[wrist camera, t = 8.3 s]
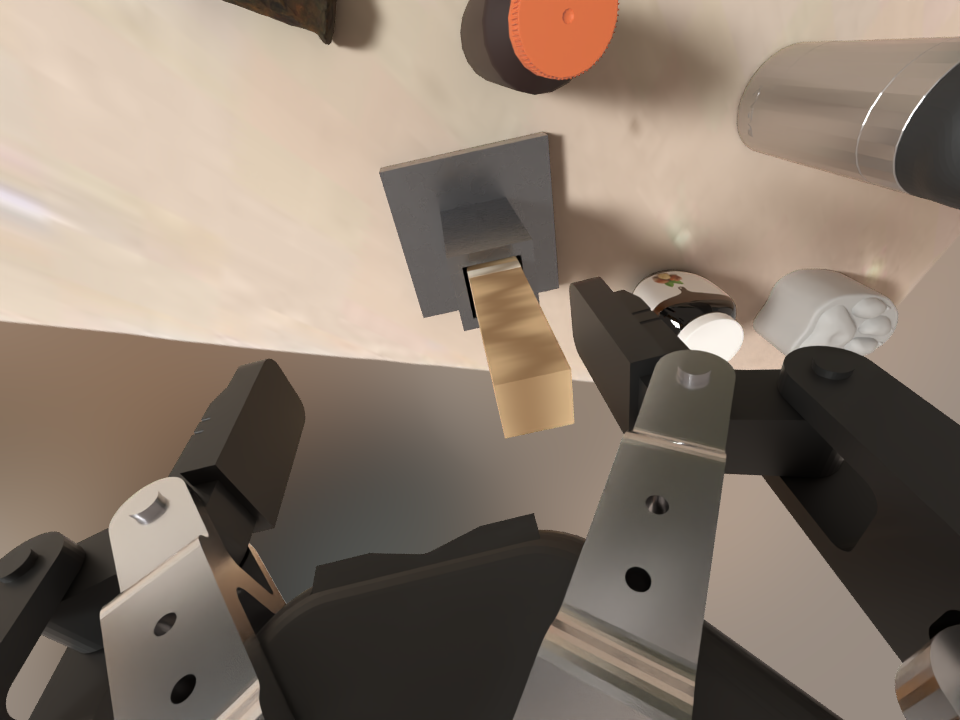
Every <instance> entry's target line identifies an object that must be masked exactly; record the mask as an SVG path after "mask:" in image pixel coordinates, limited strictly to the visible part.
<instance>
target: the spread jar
mask: <svg viewBox="0 0 960 720" xmlns="http://www.w3.org/2000/svg"><path fill="white" fill-rule="evenodd" d="M632 294H634V295H636V296H639V297H640V298H641V299H642V300H643V301H644V302H645V303H646V304H647V305H648V306H649V307H650V308H651V311H652V310H653V311H654V312H655V313H656V314H657V315H658V316H659V319H660V320H662V321H663V322H664V323H665V324H666V325H667V326H668V327H669V328H670V329H671V330H672V331H673V332H674V333H675V334H676V335H677V336H678V337H679V338H680V339H681V340H682V341H683V343H684V344H685V345H686V346H687V347H688V348H689V349H690V350H700V351H705V352H709V353H712V354H715V355H717V356H719V357H721V358H723V359H724V360H726V361H727V362H728V361H729V360H731V359H732V358H733V357H734V355H735V354H736V353H737V352H738V350H739V349H740V347H741V345H742V342H743V339H744V332H743V328H742V326H741V325H740V324H739V323H738V322H737V321H735V320H736V305H735V303H734V301H733V300H732V298H731V297H730V296H729V295H728V294H726V293H725V292H724V291H723V290H721V289H720V288H719V287H718V286H716V285H715V284H713V283H712V282H710V281H709V280H707V279H705V278H704V277H701V276H699V275H696V274H693V273H689V272H684V271H678V270H664V271H659V272H656V273H653V274H651V275H649V276H647V277H645V278H644V279H643V280H641V281H640V282H639V283H638V285H637V286H636V288H635V289H634V291H633V293H632Z"/></svg>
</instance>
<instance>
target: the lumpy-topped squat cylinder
mask: <svg viewBox="0 0 960 720" xmlns="http://www.w3.org/2000/svg"><path fill="white" fill-rule="evenodd" d="M897 322H898V311H897V309H896V307H895V305H894V304H893V302H892V301H891V300H890V299H889V298H888V297H886V296H884V295H882V294H880V293H879V292H877V291H875V290H873V289H871V288H869V287H867V286H865V285H863V284H861V283H859V282H857V281H855V280H853V279H851V278H849V277H847V276H845V275H843V274H841V273H839V272H836V271H832V270H825V269H801V270H796V271H793V272H791V273H789V274H787V275H785V276H784V277H782V278H781V279H780V280H779V281H778V282H777V283H776V284H775V285H774V287H773V289H772V290H771V293H770V295H769V297H768V300H767V301H766V303H765V305H764V306H763V307H762V309H761V310H760V311H759V313H758V314H757V316H756V317H755V319H754V322H753V328H754V330H755V331H756V332H757V333H758V334H759V335H761V336H762V337H763V338H764V339H765V340H767V341H768V342H769V343H770V344H772V345H773V346H774V347H775V348H777V349H778V350H779V351H780V352H781V353H783V354H784V355H785V356H787V355H788V354H789V353H790V352H792V351H793V350H796V349H798V348H802V347H807V346H830V347H837V348H842V349H845V350H849V351H852V352H855V353H857V354H860V355H862V356H864V355H867V354H870V353H872V352H874V351H875V349H876V348H878V347H879V346H881V345H882V344H883V343H885V342H886V341H887V340H888V339H889V338H890V336H891V335H892V334H893V332H894V330H895V328H896V325H897Z"/></svg>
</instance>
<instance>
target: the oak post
mask: <svg viewBox="0 0 960 720" xmlns="http://www.w3.org/2000/svg"><path fill="white" fill-rule="evenodd" d="M466 269H467V274H468V278H469V283H470V287H471V292H472V296H473V301H474V305H475V310H476V315H477V319H478V323H479V327H480V331H481V335H482V340H483V344H484V348H485V353H486V357H487V362H488V366H489V370H490V375H491V379H492V383H493V388H494V392H495V396H496V401H497V405H498V410H499V414H500V418H501V423H502V427H503V432H504V435H505V438H510V437H514V436H519V435H524V434H528V433H533V432H537V431H542V430H547V429H551V428H556V427H560V426H565V425H569V424H574V411H573V393H572V377H571V368H570V366H569V364H568V362H567V360H566V358H565V356H564V354H563V352H562V350H561V348H560V346H559V344H558V341H557V339H556V337H555V335H554V333H553V331H552V329H551V327H550V325H549V323H548V321H547V319H546V317H545V315H544V313H543V311H542V309H541V307H540V305H539V303H538V301H537V299H536V297H535V295H534V293H533V291H532V289H531V286H530V284H529V282H528V280H527V278H526V276H525V274H524V272H523V270H522V268H521V265H520V263H519V261H518V260H517V258H516V256H513V257H508V258H504V259H499V260H495V261H490V262H486V263H481V264H477V265H472V266H468V267H466Z"/></svg>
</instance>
